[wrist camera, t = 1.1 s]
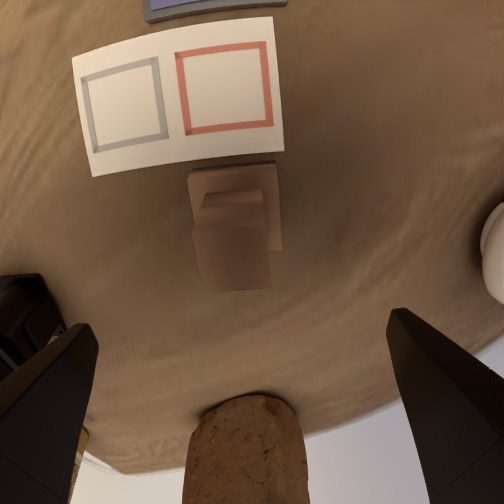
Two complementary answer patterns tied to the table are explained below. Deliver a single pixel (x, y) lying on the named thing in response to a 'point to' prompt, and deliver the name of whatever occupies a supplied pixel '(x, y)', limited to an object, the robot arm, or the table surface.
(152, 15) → the inkpad
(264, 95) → the sheet
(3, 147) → the table surface
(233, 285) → the stamp
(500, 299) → the flower vase
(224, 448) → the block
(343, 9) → the table surface
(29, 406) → the robot arm
